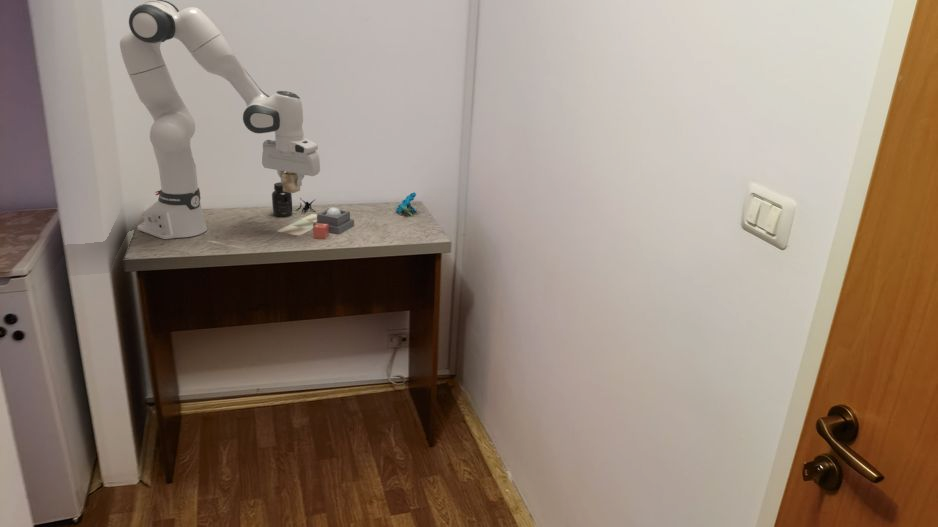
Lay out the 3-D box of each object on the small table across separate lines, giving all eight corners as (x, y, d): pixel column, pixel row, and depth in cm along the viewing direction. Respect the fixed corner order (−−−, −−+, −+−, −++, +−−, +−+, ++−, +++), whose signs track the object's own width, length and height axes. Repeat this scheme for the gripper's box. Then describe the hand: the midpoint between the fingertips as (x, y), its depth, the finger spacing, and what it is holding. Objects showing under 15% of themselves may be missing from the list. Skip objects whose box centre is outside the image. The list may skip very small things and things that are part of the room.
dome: (323, 222, 242) (322, 208, 241) (331, 217, 247) (331, 204, 245) (336, 224, 241) (336, 211, 239) (344, 220, 245) (344, 206, 243)
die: (313, 238, 235) (313, 226, 233) (317, 234, 238) (316, 222, 237) (325, 239, 234) (324, 227, 233) (328, 235, 238) (328, 223, 236)
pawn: (282, 191, 234) (281, 166, 231) (290, 188, 237) (289, 163, 234) (293, 193, 233) (292, 168, 229) (300, 190, 236) (299, 165, 233)
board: (275, 233, 239) (275, 230, 239) (310, 215, 257) (310, 213, 257) (326, 243, 233) (326, 241, 232) (359, 224, 251) (359, 222, 250)
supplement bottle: (271, 214, 257) (269, 181, 252) (290, 212, 259) (289, 180, 255) (274, 220, 251) (272, 187, 246) (294, 218, 253) (292, 186, 249)
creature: (313, 220, 257) (319, 208, 263) (312, 207, 254) (318, 196, 260) (292, 218, 257) (298, 207, 264) (290, 205, 254) (297, 194, 260)
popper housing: (313, 231, 242) (312, 214, 240) (329, 222, 251) (328, 206, 249) (338, 236, 239) (338, 219, 237) (354, 227, 248) (353, 211, 245)
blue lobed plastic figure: (397, 202, 271) (415, 186, 267) (408, 213, 273) (426, 197, 269) (391, 215, 261) (410, 199, 257) (403, 226, 263) (422, 210, 259)
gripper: (256, 140, 229) (259, 182, 235) (311, 149, 223) (312, 192, 228) (268, 137, 235) (270, 177, 240) (322, 145, 228) (323, 187, 234)
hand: (291, 184), depth 234 cm, fingers closed on pawn, 4 cm apart
